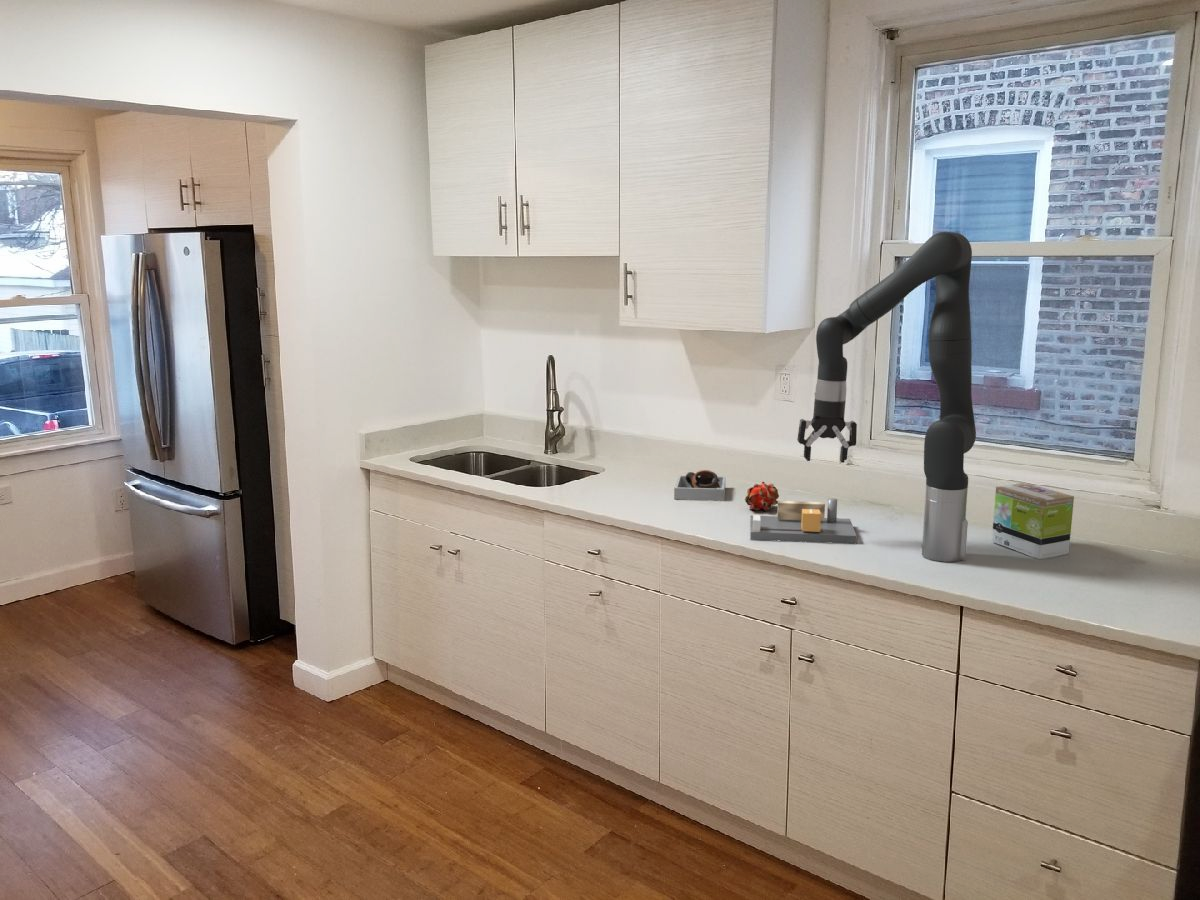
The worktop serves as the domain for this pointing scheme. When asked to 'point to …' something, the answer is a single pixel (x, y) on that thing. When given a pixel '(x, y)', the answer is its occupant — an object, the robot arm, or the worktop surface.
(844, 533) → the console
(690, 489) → the tray
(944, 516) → the robot arm
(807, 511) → the fader knob
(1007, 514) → the tea box
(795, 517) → the gate arm
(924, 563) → the worktop surface
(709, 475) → the pottery mug
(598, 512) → the worktop surface
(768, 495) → the dragon fruit
